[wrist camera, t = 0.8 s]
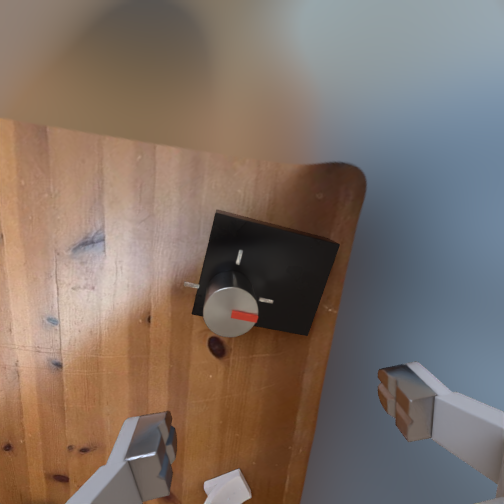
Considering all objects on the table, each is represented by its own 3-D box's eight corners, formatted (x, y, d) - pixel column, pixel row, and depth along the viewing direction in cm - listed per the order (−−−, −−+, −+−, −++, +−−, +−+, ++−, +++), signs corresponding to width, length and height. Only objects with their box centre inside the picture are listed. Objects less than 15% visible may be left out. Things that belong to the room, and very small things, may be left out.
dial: (201, 309, 24) (197, 334, 20) (212, 266, 23) (209, 283, 19) (246, 317, 25) (250, 343, 21) (258, 276, 24) (265, 295, 20)
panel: (180, 309, 27) (174, 325, 24) (203, 205, 25) (200, 208, 22) (296, 331, 29) (304, 348, 26) (327, 238, 27) (340, 244, 24)
